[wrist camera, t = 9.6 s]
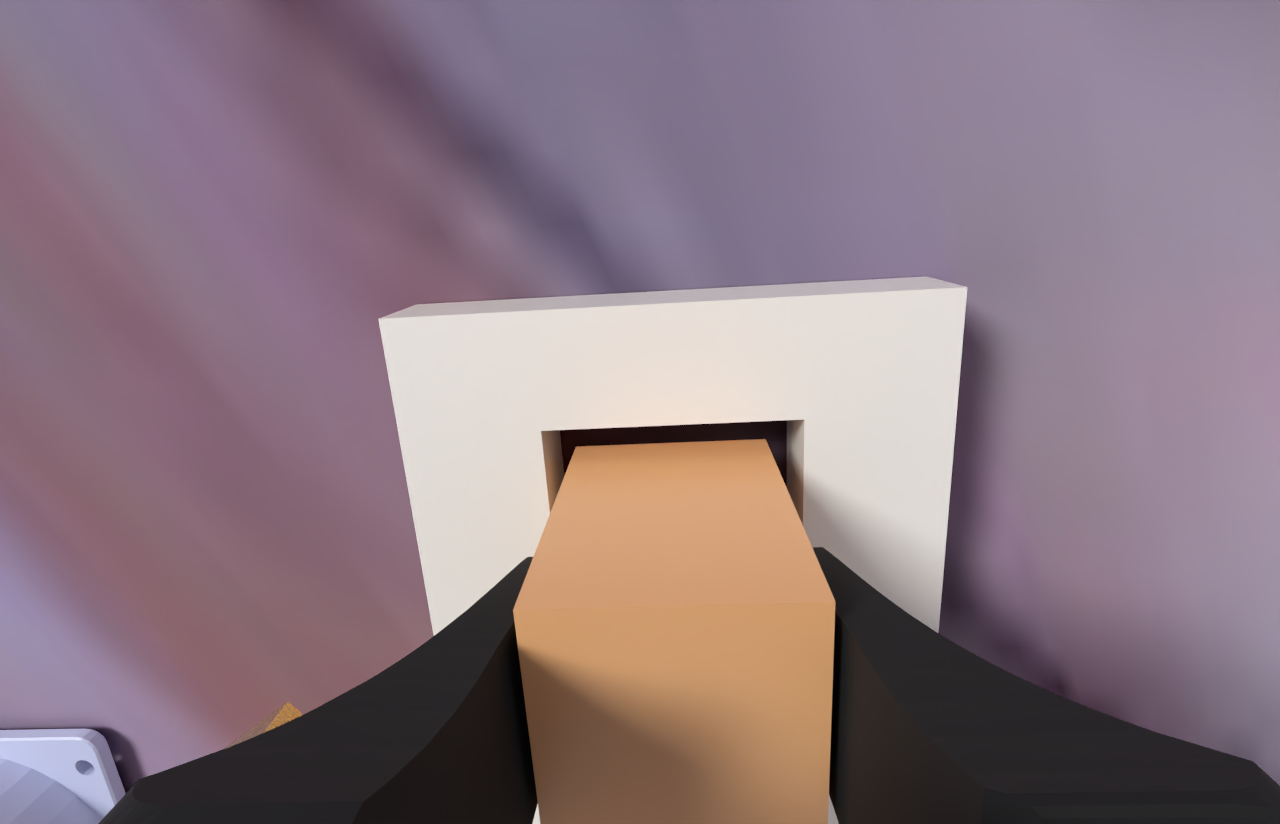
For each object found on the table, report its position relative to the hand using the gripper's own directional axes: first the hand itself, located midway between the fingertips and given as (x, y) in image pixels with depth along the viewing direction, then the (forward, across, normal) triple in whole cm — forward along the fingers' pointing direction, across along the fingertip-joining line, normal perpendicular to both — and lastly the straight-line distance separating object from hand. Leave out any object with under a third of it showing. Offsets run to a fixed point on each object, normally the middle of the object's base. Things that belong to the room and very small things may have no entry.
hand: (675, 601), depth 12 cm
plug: (+3, 0, 0) cm, 3 cm away
